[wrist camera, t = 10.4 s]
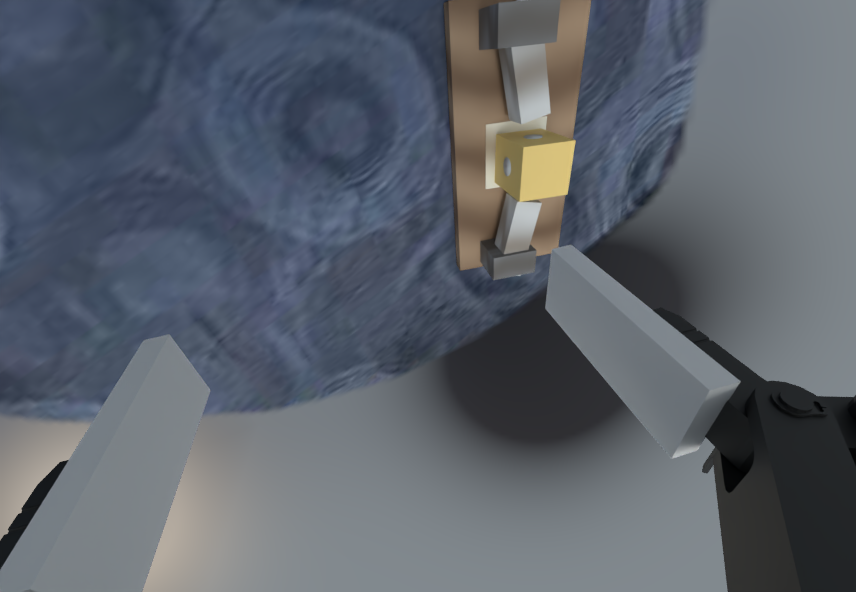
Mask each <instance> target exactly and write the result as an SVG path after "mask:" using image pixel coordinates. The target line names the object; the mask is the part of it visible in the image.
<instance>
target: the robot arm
mask: <svg viewBox="0 0 856 592" xmlns="http://www.w3.org/2000/svg"><path fill="white" fill-rule="evenodd" d="M545 309H546V310H547V311H548V312H549V313H550V315H551V316H552V317H553V318H554V319H555V321H556V322H557V323H558V324H559V325H560V327H561V328H562V329H563V330H564V331H565V332H566V333H567V335H568V336H569V337H570V338H571V340H572V341H573V342H574V343H575V344H576V346H577V347H578V348H579V349H580V350H581V351H582V353H583V354H584V355H585V356H586V357H587V359H588V360H589V361H590V362H591V363H592V365H593V366H594V367H595V368H596V369H597V371H598V372H599V373H600V374H601V375H602V376H603V378H604V379H605V380H606V381H607V383H608V384H609V385H610V386H611V387H612V388H613V390H614V391H615V392H616V393H617V394H618V396H619V397H620V398H621V399H622V400H623V402H624V403H625V404H626V405H627V406H628V408H629V409H630V410H631V411H632V412H633V414H634V415H635V416H636V417H637V418H638V420H639V421H640V422H641V423H642V424H643V425H644V427H645V428H646V429H647V430H648V431H649V433H650V434H651V435H652V436H653V437H654V439H655V440H656V441H657V442H658V443H659V445H660V446H661V447H662V448H663V449H664V450H665V452H666V453H667V454H668V455H669V457H670V458H675V457H678V456H681V455H685V454H688V453H691V452H694V451H697V450H698V448H699V447H700V445H701V444H702V442H703V441H704V439H705V437H706V438H707V439H708V440H709V441H710V442H711V443H712V444H713V445H714V446H715V448H714V450H713V451H712V453H711V454H710V456H709V457H708V459H707V460H706V462H705V463H704V465H703V469H702V472H704V473H708V472H709V470H710V469H711V467H712V466H713V465H714V474H715V483H716V491H717V500H718V509H719V518H720V527H721V536H722V544H723V552H724V553H723V554H724V562H725V570H726V580H727V589H728V592H856V396H855V397H821V396H816V395H814V394H813V393H811V392H809V391H807V390H805V389H803V388H801V387H799V386H796V385H792V384H789V383H786V382H779V381H768V382H767V381H766V380H764V379H763V378H761V377H760V376H758V375H757V374H756V373H754V372H753V371H752V370H750V369H749V368H748V367H747V366H745V365H744V364H743V363H741V362H740V361H739V360H737V359H736V358H734V357H733V356H732V355H731V354H729V353H728V352H727V351H725V350H724V349H723V348H722V347H720V346H719V345H718V344H716V343H715V342H714V341H710V340H709V338H708V337H707V336H706V335H704V334H703V333H702V332H700V331H697V330H696V328H695V327H694V326H692V325H691V324H690V323H689V322H687V321H686V320H685V319H683V318H682V317H681V316H679V315H676V314H674V313H672V312H670V311H667V310H665V309H663V308H659V309H654V310H651V309H650V308H649V307H648V306H646V305H645V304H644V303H643V302H642V301H640V300H639V299H638V298H636V297H635V296H634V295H633V294H632V293H630V292H629V291H627V289H625V288H624V287H623V286H622V285H620V284H619V283H618V282H617V281H616V280H614V279H613V278H612V277H611V276H609V275H608V274H607V273H606V272H604V271H603V270H602V269H601V268H599V267H598V266H597V265H596V264H594V263H593V262H592V261H591V260H589V259H588V258H587V257H586V256H584V255H583V254H582V253H581V252H580V251H578V250H577V249H576V248H575V247H573V246H572V245H568V246H564V247H559V248H555V249H552V252H551V261H550V270H549V279H548V288H547V297H546V307H545ZM209 393H210V389H209V387H208V386H207V385H206V383H205V382H204V381H203V379H202V378H201V377H200V375H199V374H198V373H197V371H196V370H195V368H194V367H193V366H192V364H191V363H190V362H189V360H188V359H187V358H186V356H185V355H184V354H183V352H182V351H181V349H180V348H179V347H178V345H177V344H176V343H175V341H174V340H173V339H172V337H171V336H170V335H165V336H160V337H156V338H151V339H147V340H144V341H143V342H142V344H141V345H140V347H139V349H138V350H137V352H136V353H135V355H134V357H133V358H132V360H131V361H130V363H129V365H128V366H127V368H126V369H125V371H124V373H123V374H122V376H121V377H120V379H119V381H118V382H117V384H116V385H115V387H114V389H113V390H112V392H111V393H110V395H109V397H108V398H107V400H106V401H105V403H104V405H103V406H102V408H101V409H100V411H99V413H98V414H97V416H96V417H95V419H94V421H93V422H92V424H91V425H90V427H89V429H88V430H87V432H86V433H85V435H84V437H83V438H82V440H81V441H80V443H79V445H78V446H77V448H76V449H75V451H74V453H73V454H72V456H71V458H70V459H69V460H67V461H63V462H60V463H59V464H58V465H57V466H56V467H55V468H54V469H53V470H52V471H51V472H50V473H49V474H48V475H47V476H46V477H45V478H44V479H43V480H42V481H41V482H40V483H39V484H38V485H37V486H36V488H35V489H34V491H33V492H32V494H31V495H30V497H29V498H28V500H27V501H26V503H25V504H24V506H23V507H22V513H20V514H18V515H17V517H16V518H15V520H14V521H13V523H12V524H11V526H10V527H9V529H8V530H9V532H8V534H6V535H4V536H3V538H2V539H1V541H0V592H142V591H143V588H144V584H145V582H146V579H147V576H148V573H149V570H150V567H151V564H152V561H153V558H154V555H155V552H156V549H157V546H158V543H159V540H160V538H161V534H162V532H163V529H164V526H165V523H166V520H167V517H168V514H169V511H170V508H171V505H172V502H173V499H174V496H175V493H176V490H177V487H178V484H179V482H180V479H181V475H182V473H183V470H184V467H185V464H186V461H187V458H188V455H189V452H190V449H191V446H192V443H193V440H194V437H195V434H196V431H197V428H198V425H199V423H200V420H201V417H202V414H203V411H204V408H205V405H206V402H207V399H208V396H209Z"/></svg>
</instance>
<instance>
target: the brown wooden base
mask: <svg viewBox="0 0 856 592" xmlns="http://www.w3.org/2000/svg"><path fill="white" fill-rule="evenodd" d="M590 5H591V0H452V1H447V2H445V3H444V20H445V40H446V59H447V79H448V99H449V119H450V139H451V159H452V179H453V199H454V219H455V239H456V258H457V266H458V267H459V269H460V271H461V270H466V269H471V268H477V267H482V266H484V267H485V269H486V270H487V272H488V273H489V275H490V276H491V277H492V279H493V280H497V279H502V278H507V277H512V276H521V275H522V274H527V273H533V272H535V262H536V256H540V255H545V254H550V253H551V252H552V249H555V248H558V244H559V237H560V229H561V222H562V214H563V207H564V199H565V195H562V196H555V197H549V198H542V199H536V200H529V201H523V202H519V201H518V200H516V199H515V198H514V197H512V196H511V195H510V194H509V193H507V192H506V191H505V190H504V189H502V188H501V187H500V186H499V185H497V184H496V183H495V152H496V134H501V133H509V132H517V131H525V130H532V129H540V128H541V129H544V130H547V131H550V132H553V133H556V134H559V135H562V136H565V137H567V138H570V139H573V132H574V125H575V117H576V110H577V102H578V95H579V87H580V80H581V72H582V65H583V57H584V50H585V42H586V35H587V27H588V20H589V13H590Z"/></svg>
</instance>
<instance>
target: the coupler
mask: <svg viewBox="0 0 856 592" xmlns="http://www.w3.org/2000/svg"><path fill="white" fill-rule="evenodd" d="M575 141H576V140H573V139H570V138H567V137H565V136H562V135H559V134H556V133H553V132H550V131H547V130H544V129H541V128H540V129H532V130H525V131H517V132H509V133H501V134H496V152H495V183H496V184H497V185H499V186H500V187H501V188H502V189H504V190H505V191H506V192H507V193H509V194H510V195H511V196H512V197H514V198H515V199H516V200H518V201H519V202H523V201H529V200H536V199H542V198H549V197H555V196H562V195H567V194H568V187H569V180H570V174H571V167H572V161H573V154H574V147H575Z"/></svg>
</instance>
